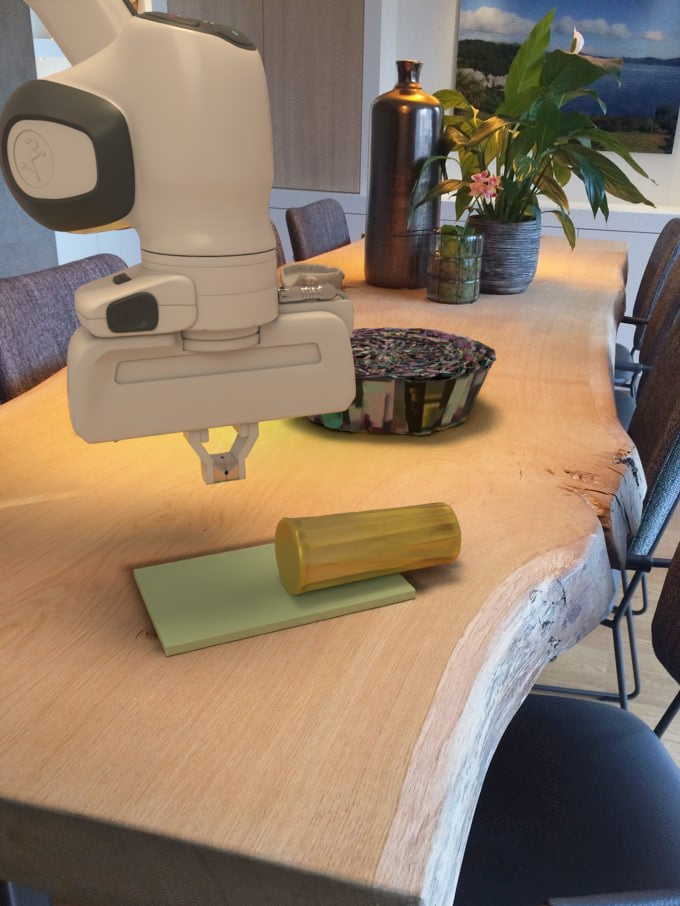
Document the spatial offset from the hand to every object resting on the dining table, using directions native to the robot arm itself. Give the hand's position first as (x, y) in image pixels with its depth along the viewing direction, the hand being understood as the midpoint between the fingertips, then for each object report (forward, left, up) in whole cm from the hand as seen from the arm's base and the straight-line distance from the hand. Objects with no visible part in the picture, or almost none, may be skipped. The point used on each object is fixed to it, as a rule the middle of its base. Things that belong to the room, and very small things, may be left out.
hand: (223, 479), depth 62 cm
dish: (+52, +114, -11) cm, 126 cm away
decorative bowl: (+32, +36, -11) cm, 49 cm away
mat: (+4, 0, -10) cm, 11 cm away
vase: (+4, -2, -6) cm, 8 cm away
